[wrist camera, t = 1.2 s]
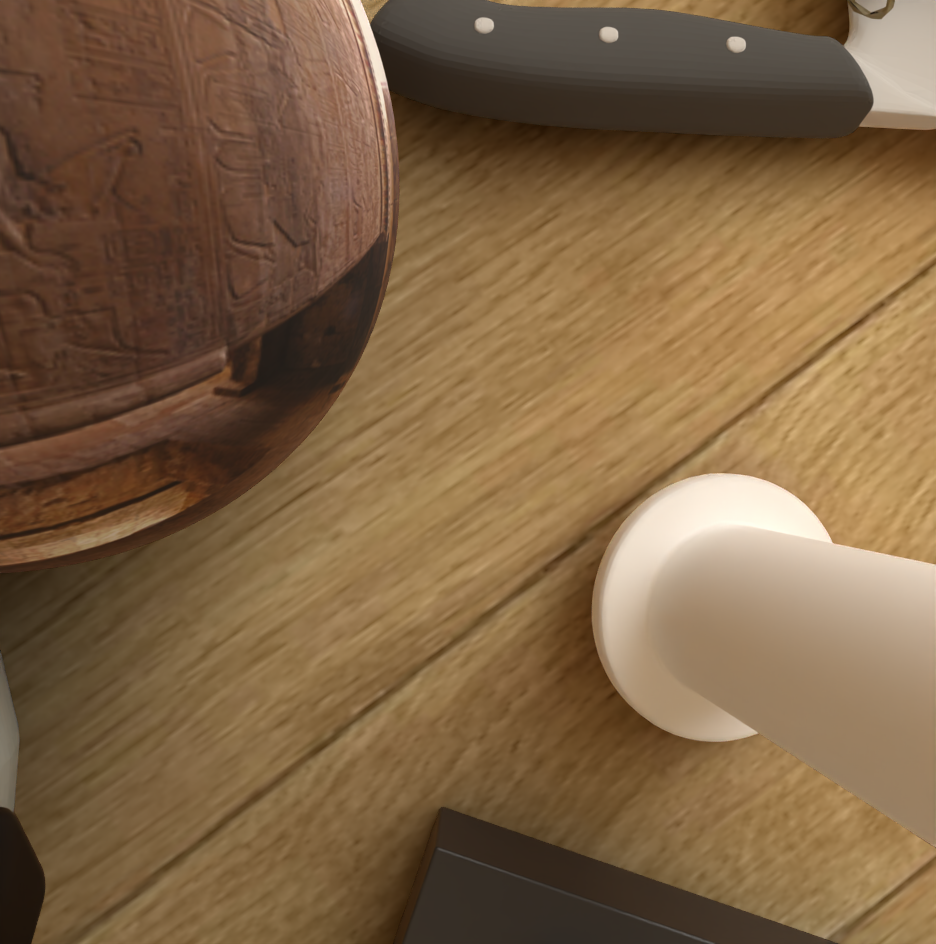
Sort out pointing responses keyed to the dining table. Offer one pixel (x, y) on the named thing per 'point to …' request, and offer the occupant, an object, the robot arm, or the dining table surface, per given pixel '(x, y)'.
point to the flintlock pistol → (873, 15)
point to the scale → (557, 898)
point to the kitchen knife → (661, 68)
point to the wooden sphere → (178, 255)
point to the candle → (775, 637)
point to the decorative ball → (7, 743)
